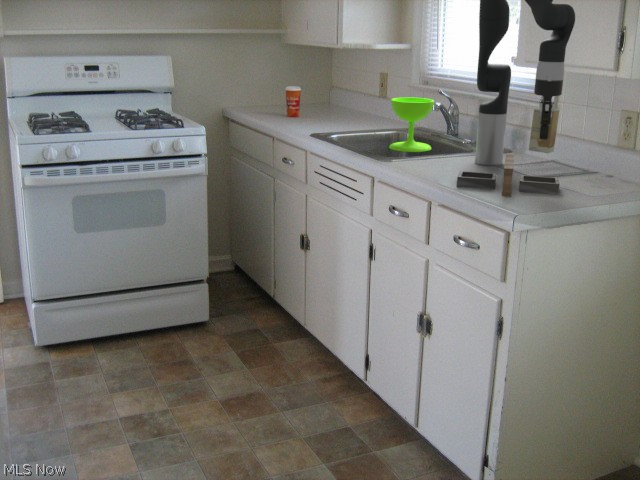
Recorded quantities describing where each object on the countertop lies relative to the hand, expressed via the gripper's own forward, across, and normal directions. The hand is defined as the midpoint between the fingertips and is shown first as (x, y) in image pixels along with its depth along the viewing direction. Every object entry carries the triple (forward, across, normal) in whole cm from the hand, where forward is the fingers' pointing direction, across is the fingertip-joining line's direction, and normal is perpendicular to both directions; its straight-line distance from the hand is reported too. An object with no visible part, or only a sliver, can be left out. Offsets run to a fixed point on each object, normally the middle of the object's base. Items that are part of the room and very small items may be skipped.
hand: (543, 137), depth 214 cm
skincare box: (+4, 0, 0) cm, 4 cm away
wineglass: (+16, -55, -46) cm, 73 cm away
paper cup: (+16, -120, -112) cm, 165 cm away
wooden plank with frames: (+15, 0, -9) cm, 18 cm away
